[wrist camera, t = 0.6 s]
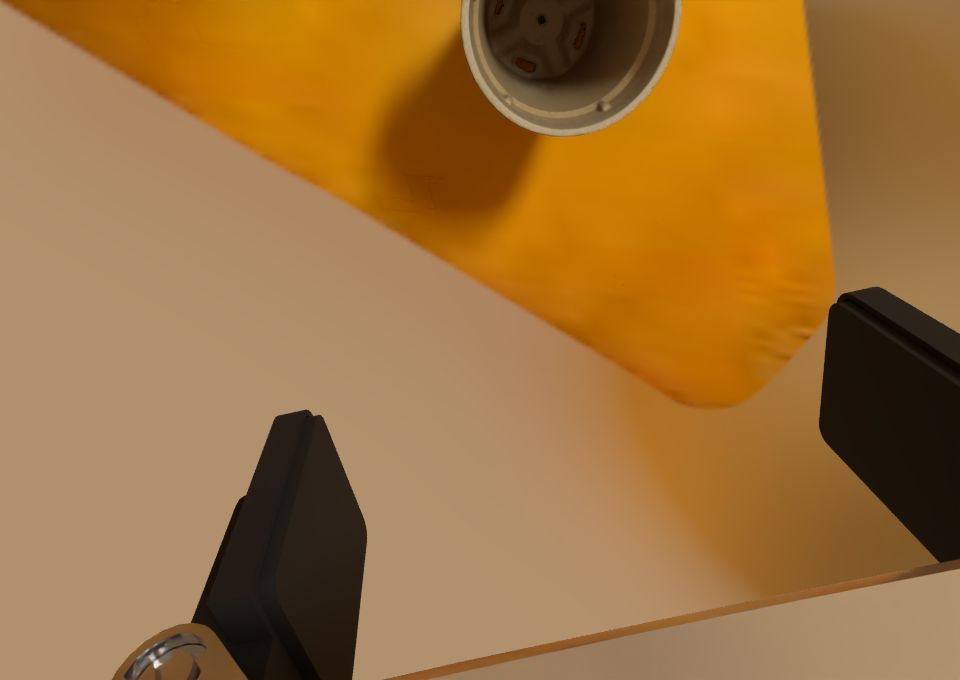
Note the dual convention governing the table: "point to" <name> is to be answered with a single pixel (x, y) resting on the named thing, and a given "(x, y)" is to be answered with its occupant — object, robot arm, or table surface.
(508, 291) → the table surface
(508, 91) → the flower pot
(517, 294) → the table surface
